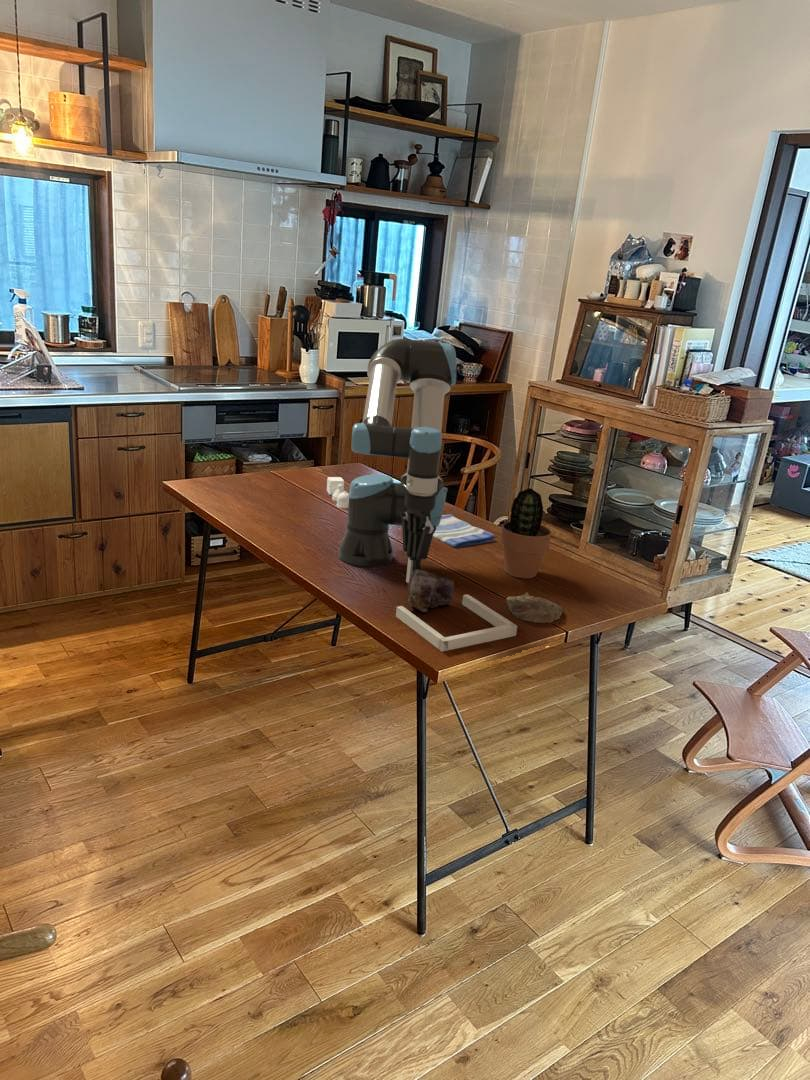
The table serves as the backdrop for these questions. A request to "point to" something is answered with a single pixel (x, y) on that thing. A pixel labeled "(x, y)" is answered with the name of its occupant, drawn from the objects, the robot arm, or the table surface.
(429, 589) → the rock
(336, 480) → the container set
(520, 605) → the oyster shell
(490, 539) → the dish towel
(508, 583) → the table surface
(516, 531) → the potted plant
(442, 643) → the bay
